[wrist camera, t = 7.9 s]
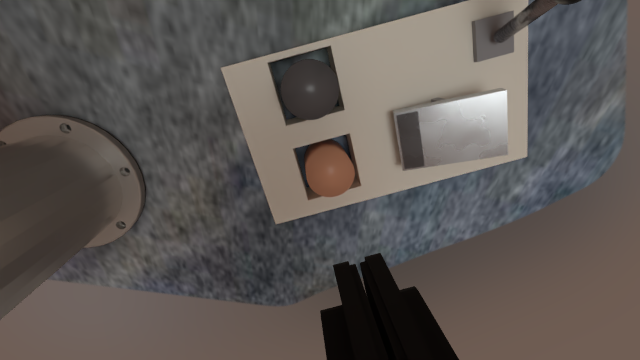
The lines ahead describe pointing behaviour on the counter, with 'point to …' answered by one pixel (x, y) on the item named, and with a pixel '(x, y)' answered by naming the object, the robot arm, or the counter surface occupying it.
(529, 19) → the toggle lever
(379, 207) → the counter surface
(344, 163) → the terracotta button
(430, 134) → the rocker
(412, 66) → the panel
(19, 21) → the counter surface
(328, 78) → the black button
